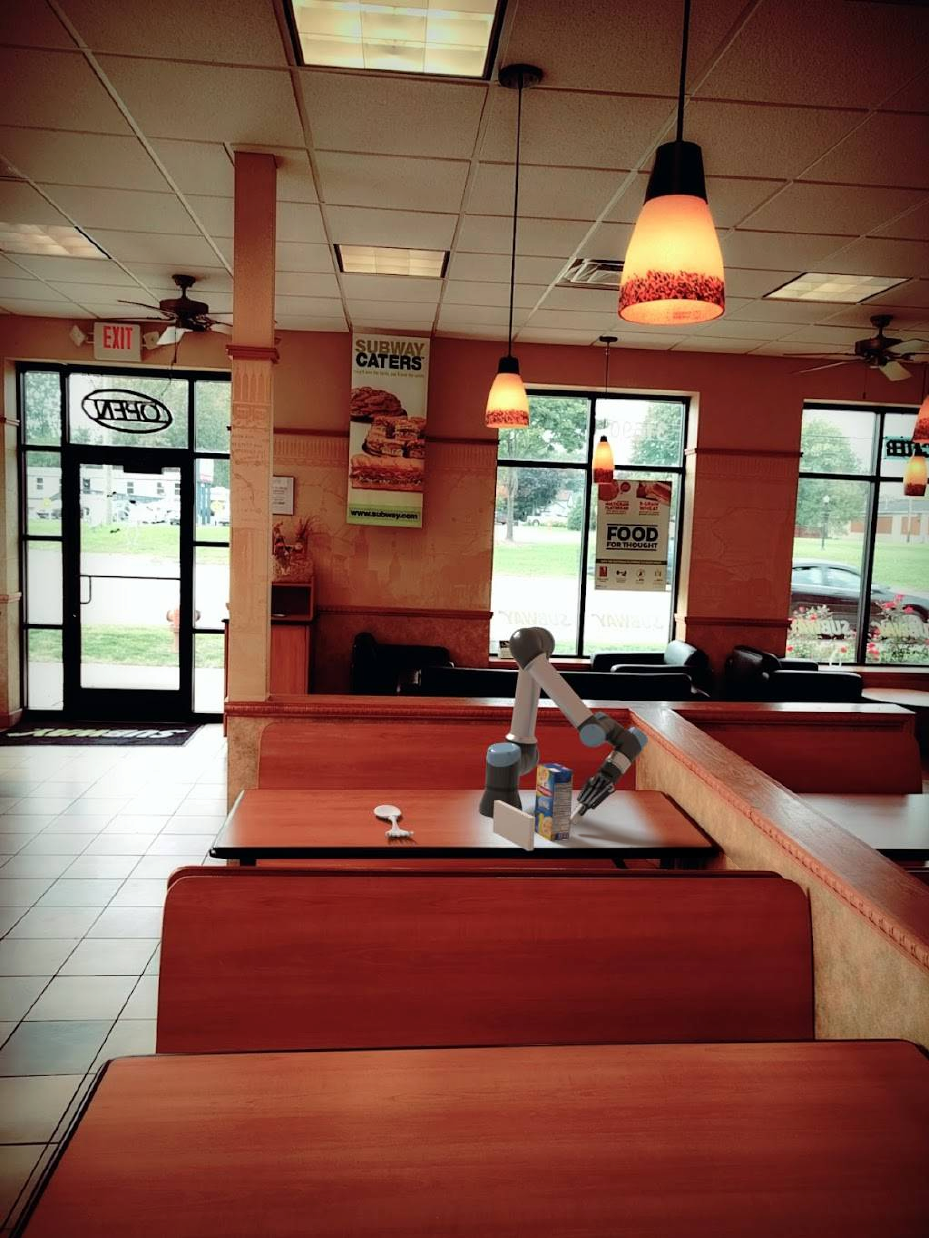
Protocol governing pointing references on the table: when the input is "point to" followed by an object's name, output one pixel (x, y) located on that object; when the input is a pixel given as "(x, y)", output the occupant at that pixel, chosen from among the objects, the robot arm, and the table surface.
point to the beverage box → (553, 801)
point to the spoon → (392, 815)
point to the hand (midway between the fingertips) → (571, 821)
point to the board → (514, 825)
